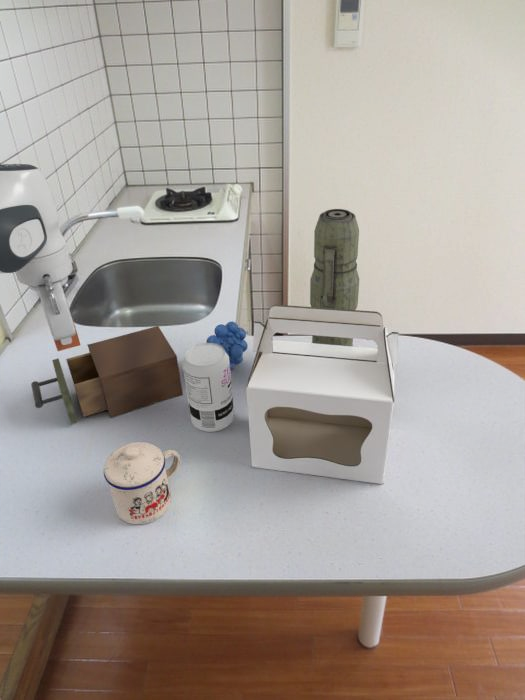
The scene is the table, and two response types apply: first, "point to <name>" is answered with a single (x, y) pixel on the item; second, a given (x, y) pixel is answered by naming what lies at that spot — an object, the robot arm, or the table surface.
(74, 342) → the block
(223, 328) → the grapes
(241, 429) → the table surface
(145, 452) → the teacup with lid
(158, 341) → the cabinet
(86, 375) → the drawer
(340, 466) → the gable box
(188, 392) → the supplement can
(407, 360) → the table surface
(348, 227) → the thermos
